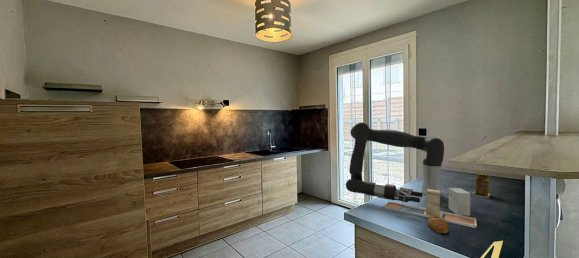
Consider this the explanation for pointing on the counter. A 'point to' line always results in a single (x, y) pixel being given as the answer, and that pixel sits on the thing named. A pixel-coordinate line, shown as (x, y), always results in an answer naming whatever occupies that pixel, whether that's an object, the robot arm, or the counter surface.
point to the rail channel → (431, 216)
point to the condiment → (481, 185)
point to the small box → (459, 201)
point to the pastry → (438, 224)
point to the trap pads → (444, 218)
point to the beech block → (432, 202)
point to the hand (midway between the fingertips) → (421, 197)
